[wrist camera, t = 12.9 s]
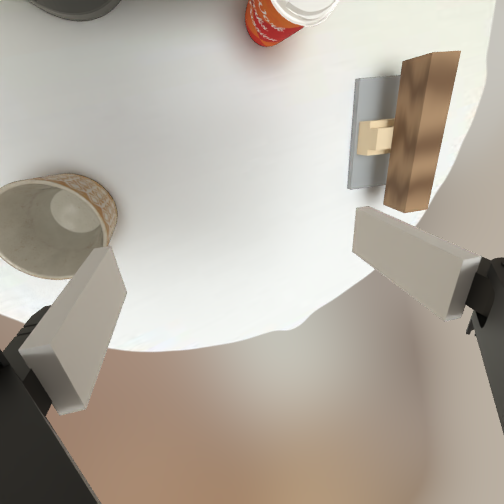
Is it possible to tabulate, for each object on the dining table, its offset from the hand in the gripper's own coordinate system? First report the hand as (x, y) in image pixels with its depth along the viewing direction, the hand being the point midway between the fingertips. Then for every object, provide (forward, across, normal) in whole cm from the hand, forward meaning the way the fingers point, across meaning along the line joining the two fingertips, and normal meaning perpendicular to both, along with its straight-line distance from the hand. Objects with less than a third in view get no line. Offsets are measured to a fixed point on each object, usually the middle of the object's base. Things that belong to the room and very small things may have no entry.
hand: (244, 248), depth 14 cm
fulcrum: (+32, +30, +2) cm, 44 cm away
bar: (+26, +30, +2) cm, 39 cm away
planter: (+32, -20, -4) cm, 38 cm away
